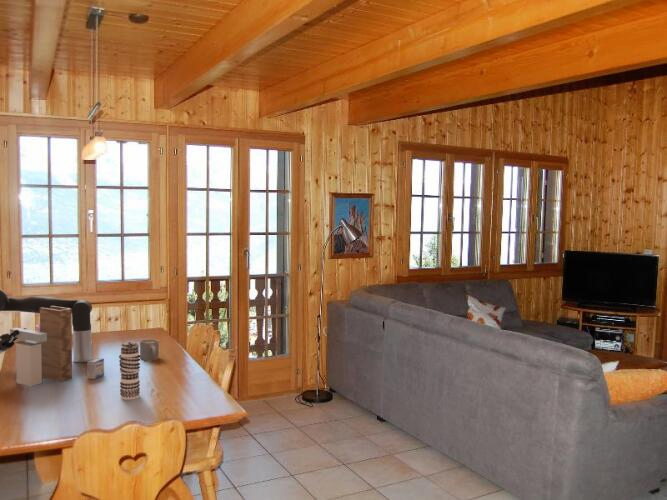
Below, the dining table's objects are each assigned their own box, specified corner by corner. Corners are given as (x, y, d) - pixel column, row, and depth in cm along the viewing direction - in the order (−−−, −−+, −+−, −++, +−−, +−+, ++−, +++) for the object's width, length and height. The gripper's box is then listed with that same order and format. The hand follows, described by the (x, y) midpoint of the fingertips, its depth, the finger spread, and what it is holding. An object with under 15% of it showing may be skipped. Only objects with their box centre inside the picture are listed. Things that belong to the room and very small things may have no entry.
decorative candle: (128, 401, 269) (128, 345, 267) (114, 397, 274) (114, 342, 272) (144, 395, 277) (144, 342, 275) (131, 392, 282) (131, 339, 280)
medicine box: (95, 379, 300) (95, 362, 299) (87, 378, 301) (86, 361, 300) (104, 375, 308) (104, 358, 307) (96, 374, 309) (96, 357, 308)
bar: (16, 334, 296) (16, 327, 296) (46, 340, 287) (46, 333, 286) (10, 336, 293) (10, 328, 293) (40, 342, 283) (40, 334, 283)
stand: (52, 373, 307) (51, 305, 304) (72, 378, 301) (71, 308, 298) (40, 377, 301) (39, 307, 298) (60, 381, 295) (59, 310, 292)
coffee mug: (138, 357, 344) (138, 339, 343) (157, 355, 348) (157, 338, 347) (142, 363, 331) (142, 345, 331) (160, 361, 336) (160, 343, 335)
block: (27, 379, 296) (27, 339, 295) (41, 383, 292) (41, 342, 290) (16, 383, 291) (15, 342, 289) (30, 386, 287) (30, 344, 285)
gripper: (-14, 339, 293) (5, 326, 286) (12, 334, 306) (32, 321, 298) (-9, 354, 292) (11, 340, 284) (18, 348, 304) (37, 334, 297)
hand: (22, 330), depth 291 cm, fingers closed on bar, 3 cm apart
